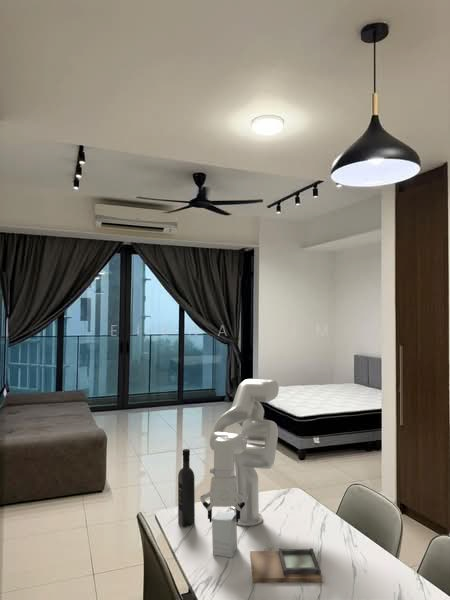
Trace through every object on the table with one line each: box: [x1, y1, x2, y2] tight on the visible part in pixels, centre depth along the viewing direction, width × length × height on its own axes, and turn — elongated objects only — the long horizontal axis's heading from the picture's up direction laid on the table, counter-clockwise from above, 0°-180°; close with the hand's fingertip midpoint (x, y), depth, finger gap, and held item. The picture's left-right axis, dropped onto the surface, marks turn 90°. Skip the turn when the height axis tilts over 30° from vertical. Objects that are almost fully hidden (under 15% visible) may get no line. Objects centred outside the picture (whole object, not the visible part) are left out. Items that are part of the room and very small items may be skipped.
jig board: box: [249, 547, 323, 584], centre depth 143 cm, size 22×16×3 cm
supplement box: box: [211, 510, 238, 558], centre depth 154 cm, size 7×7×13 cm
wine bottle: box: [177, 448, 196, 528], centre depth 175 cm, size 6×6×30 cm
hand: (223, 520), depth 153 cm, fingers open, 9 cm apart
